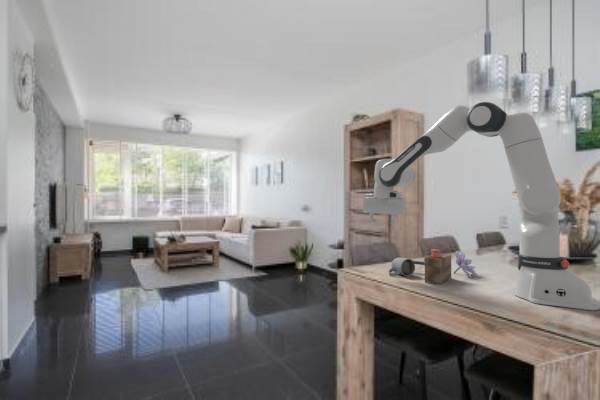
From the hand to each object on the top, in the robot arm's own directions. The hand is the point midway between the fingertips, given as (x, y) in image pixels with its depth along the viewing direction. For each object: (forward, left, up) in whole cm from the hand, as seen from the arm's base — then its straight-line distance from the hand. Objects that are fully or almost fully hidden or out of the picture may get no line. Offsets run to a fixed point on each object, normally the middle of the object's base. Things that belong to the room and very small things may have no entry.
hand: (382, 223), depth 151 cm
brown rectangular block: (-25, 0, -23) cm, 33 cm away
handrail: (-13, -9, -23) cm, 27 cm away
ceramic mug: (-9, 0, -23) cm, 24 cm away
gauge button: (-25, +3, -15) cm, 29 cm away
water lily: (-31, -17, -23) cm, 42 cm away
